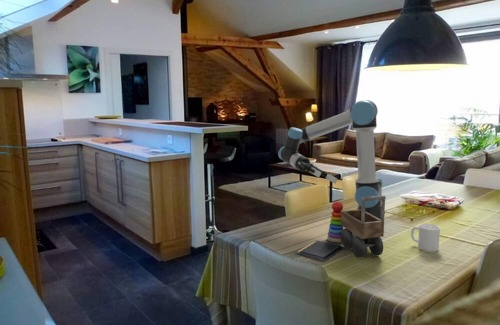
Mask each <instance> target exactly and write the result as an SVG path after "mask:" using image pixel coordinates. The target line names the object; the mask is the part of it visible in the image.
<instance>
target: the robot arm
mask: <svg viewBox="0 0 500 325" xmlns="http://www.w3.org/2000/svg"><path fill="white" fill-rule="evenodd" d="M378 112H379V111H378V107H377V105H376V103H375V102H373V101H372V100H368V99H367V100H366V99H365V100H359V101H357V102H355V103H354V104H353V105H352V107H349V108H348V110H346V111H344V112H341V113H339V114H337V115H333V116H332V117H331V116H330V117H329V118H328V117H327V118H326V119H323V120H321V121H318V122H316V123H313V124H310V125H307V126H305V127H303V128H297V127H293V126H292V127H290V128H289V130H288V132H287V137H286V138H285V139H286V140H285V144H284V146H282V147H280V148H279V150H278V153H277V156H278V158H279V159H280V160H282V161H283V162H285V163H286V164H288V165H290V166H292V168H293V169H294V168H295V169H297V170H298V171H300V172H306V173H310V174H312V175H314V176H315V177H317V178H320V176H321V177H323V178H325V179H327V180H328V181H329V182H331V183H332V184H333V183H334V184H336V183H337V181H338V178H337V177H335V176H334V175H332V174H330V172H326V171H324V170H322V169H320V168H318V167H317V166H315V165H314V164H312V163H311V162H310V159H309V158H308V157H306V156H304V155H302V154H301V153H298V150H299V147H300V144H302V143H306V142H308V141H310V140H312V139H316V138H318V137H321V136H324V135H326V134H330V133H332V132H335V131H338V130H340V129H342V128H345V127H349V126H350V125H352V130H354V131H355V137H356V138H355V139H356V155H357V156H356V158H357V178H356V179H355V193H354V200H355V202H356V203H357V205H358V206H357V208H356V210H361V209H362V200H361V199H362V197H373V196H382V192H383V191H382V190H383V180H382V177H377V176H376V155H375V154H376V153H375V152H376V151H375V135H374V134H375V133H374V132H375V129H376V128H377V115H378ZM365 212H367V213H369V214H371V215H373V216H375V217H377V218H379V219H381V200H373V201H365Z"/></svg>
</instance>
